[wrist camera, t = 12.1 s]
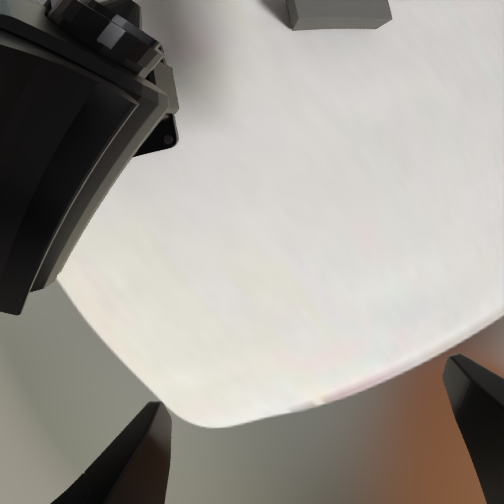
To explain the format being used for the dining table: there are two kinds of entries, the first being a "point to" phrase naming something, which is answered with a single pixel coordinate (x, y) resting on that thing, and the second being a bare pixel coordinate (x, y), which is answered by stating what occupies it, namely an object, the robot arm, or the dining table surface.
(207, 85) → the dining table surface
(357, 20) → the pair of grey blocks
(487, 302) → the dining table surface
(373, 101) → the dining table surface
